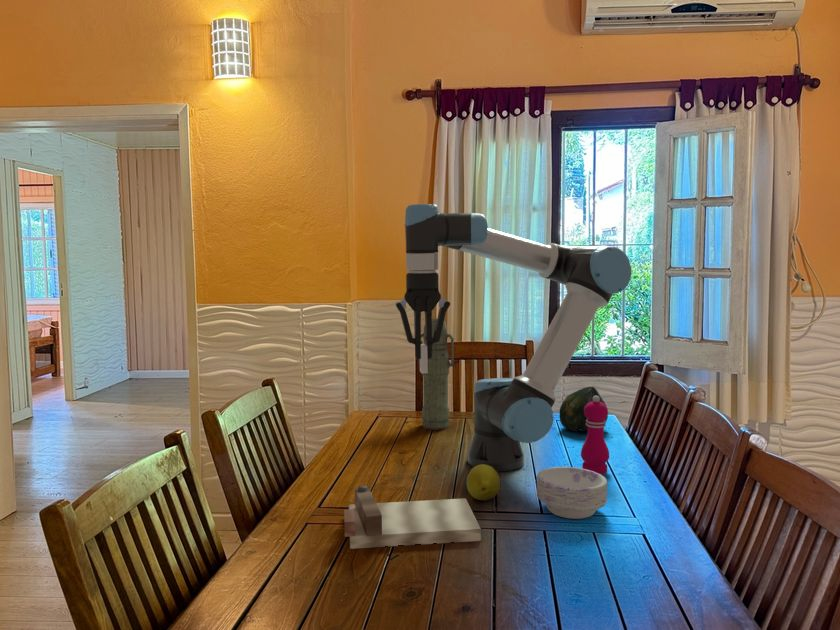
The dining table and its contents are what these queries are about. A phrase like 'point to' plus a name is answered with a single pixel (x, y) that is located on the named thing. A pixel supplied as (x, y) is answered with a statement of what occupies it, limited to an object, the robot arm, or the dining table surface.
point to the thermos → (437, 382)
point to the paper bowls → (571, 491)
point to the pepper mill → (595, 437)
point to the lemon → (483, 482)
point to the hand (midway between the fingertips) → (423, 372)
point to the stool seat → (416, 524)
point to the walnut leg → (368, 511)
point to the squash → (577, 409)
